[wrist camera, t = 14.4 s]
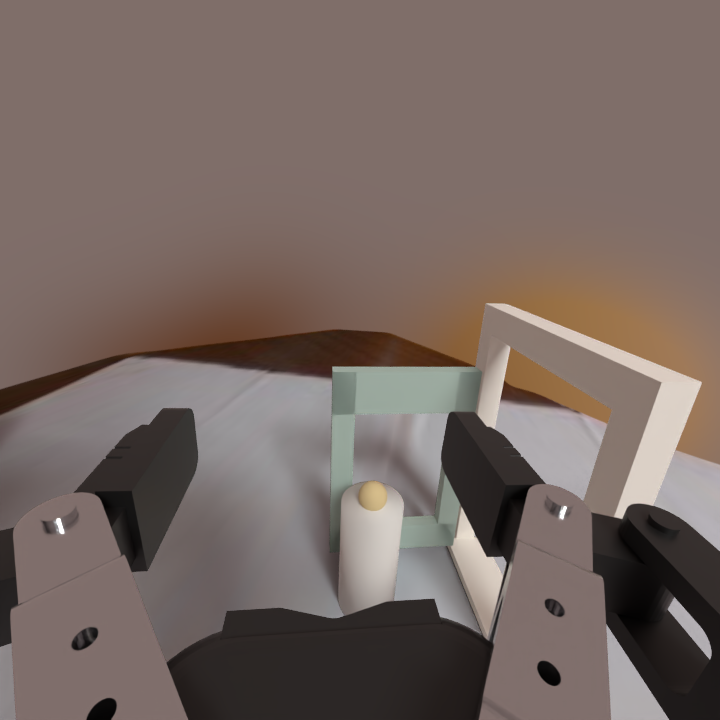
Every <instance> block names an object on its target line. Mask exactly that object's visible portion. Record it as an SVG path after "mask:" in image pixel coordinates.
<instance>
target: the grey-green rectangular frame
mask: <svg viewBox="0 0 720 720" xmlns="http://www.w3.org/2000/svg"><path fill="white" fill-rule="evenodd" d="M481 377H482V371H481V370H479V369H478V368H477V367H333V368H332V426H331V484H330V542H329V543H330V552H340V525H341V499H342V496H343V494H344V492H345V491H346V490H347V489H348V488H349V487H351V486H352V477H353V453H354V429H355V414H425V413H450V412H452V411H455V412H476V406H477V400H478V394H479V388H480V383H481ZM459 506H460V503H459V501H458V499H457V497H456V495H455V493H454V491H453V489H452V487H451V485H450V483H449V481H448V479H447V477H446V475H445V473H444V470H443V467H442V465H441V472H440V479H439V486H438V493H437V500H436V507H435V514H434V516H413V517H403V519H402V529H401V538H400V547H399V549H401V548H419V547H436V546H453V542H454V536H455V530H456V524H457V518H458V512H459Z"/></svg>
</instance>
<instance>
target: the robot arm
mask: <svg viewBox="0 0 720 720" xmlns="http://www.w3.org/2000/svg"><path fill="white" fill-rule="evenodd" d="M441 461H442V467H443V470H444V473H445V475H446V477H447V479H448V481H449V483H450V485H451V487H452V489H453V491H454V493H455V495H456V497H457V499H458V501H459V503H460V505H461V507H462V509H463V511H464V513H465V515H466V517H467V519H468V521H469V523H470V525H471V527H472V529H473V531H474V533H475V535H476V537H477V539H478V541H479V543H480V545H481V547H482V549H483V551H484V553H485V555H486V557H501V556H503V557H504V558H505V560H506V562H507V563H506V567H505V570H504V574H503V578H502V582H501V586H500V590H499V594H498V598H497V602H496V606H495V610H494V614H493V618H492V622H491V626H490V630H489V634H488V638H487V639H486V638H485V637H483V636H482V635H480V634H479V633H477V632H475V631H474V630H472V629H470V628H468V627H466V626H464V625H462V624H460V623H458V622H455V621H452V620H449V619H446V618H441V617H440V616H439V613H438V609H437V606H436V603H435V600H434V599H422V600H405V601H388V602H384V603H381V604H378V605H375V606H372V607H369V608H366V609H363V610H360V611H357V612H355V613H352V614H349V615H346V616H343V617H340V618H326V617H322V616H317V615H312V614H307V613H303V612H298V611H293V610H288V609H283V608H271V609H254V610H237V611H227V613H226V617H225V621H224V625H223V630H222V631H221V632H218V633H215V634H212V635H210V636H208V637H206V638H204V639H202V640H199V641H198V642H196V643H194V644H193V645H191V646H189V647H187V648H186V649H184V650H183V651H181V652H180V653H179V654H177V655H176V656H174V657H173V658H172V659H170V660H169V661H168V662H167V663H166V661H165V658H164V656H163V653H162V650H161V648H160V645H159V643H158V640H157V637H156V635H155V632H154V629H153V627H152V624H151V622H150V619H149V616H148V614H147V611H146V609H145V606H144V603H143V601H142V598H141V596H140V593H139V590H138V588H137V585H136V582H135V580H134V577H133V575H132V572H137V571H148V569H149V567H150V565H151V563H152V561H153V559H154V557H155V554H156V552H157V550H158V548H159V546H160V544H161V542H162V540H163V538H164V536H165V534H166V532H167V530H168V528H169V526H170V523H171V521H172V519H173V517H174V515H175V513H176V511H177V509H178V507H179V505H180V503H181V501H182V499H183V497H184V495H185V493H186V490H187V488H188V486H189V484H190V482H191V480H192V478H193V476H194V474H195V471H196V467H197V462H198V449H197V440H196V431H195V421H194V414H193V411H192V409H190V408H163V409H162V410H161V411H160V412H159V413H158V415H157V416H156V417H155V418H154V419H153V421H152V422H151V423H150V424H149V425H141V426H139V427H138V428H136V429H134V430H133V431H131V432H129V433H128V434H126V435H125V436H124V437H123V438H122V439H121V440H120V441H119V443H118V444H117V445H116V446H115V449H112V450H111V452H110V453H109V454H108V455H107V456H106V459H103V460H102V462H101V463H100V464H99V465H98V466H97V467H96V468H95V469H94V471H93V472H92V473H91V474H90V475H89V476H88V477H87V478H86V480H85V481H84V482H83V483H82V484H81V485H80V486H79V487H78V489H77V490H76V491H75V492H74V493H70V494H66V495H62V496H59V497H55V498H53V499H50V500H48V501H46V502H44V503H42V504H40V505H38V506H36V507H35V508H33V509H32V510H30V511H29V512H28V513H26V514H25V515H24V516H23V517H22V518H21V519H20V520H19V521H18V523H17V524H16V526H15V527H14V528H11V529H6V530H2V531H0V647H1V646H4V645H7V644H10V643H12V657H13V676H14V694H15V712H16V720H611V711H610V691H609V672H608V652H607V633H606V624H607V626H608V627H609V629H610V630H611V632H612V633H613V635H614V636H615V638H616V639H617V641H618V642H619V644H620V645H621V647H622V648H623V650H624V651H625V653H626V654H627V656H628V657H629V659H630V661H631V662H632V664H633V665H634V667H635V668H636V670H637V671H638V673H639V674H640V676H641V677H642V679H643V680H644V682H645V683H646V685H647V686H648V688H649V689H650V691H651V692H652V694H653V696H654V697H655V699H656V700H657V702H658V703H659V705H660V706H661V708H662V709H663V711H664V712H665V714H666V715H667V717H668V718H669V720H720V551H719V550H717V549H716V548H715V547H714V546H713V545H712V544H711V543H709V542H708V541H707V540H706V539H705V538H704V537H703V536H701V535H700V534H699V533H698V532H697V531H696V530H695V529H693V528H692V527H691V526H690V525H689V524H687V523H686V522H685V521H683V520H682V519H680V518H679V517H677V516H675V515H674V514H672V513H670V512H668V511H666V510H663V509H661V508H658V507H655V506H652V505H647V504H640V503H638V504H631V505H629V506H628V507H627V509H626V511H625V513H624V516H623V518H622V519H620V518H616V517H611V516H606V515H602V514H597V513H592V512H591V511H590V509H589V508H588V506H587V505H586V504H585V503H584V502H583V501H582V500H581V499H580V498H579V497H577V496H576V495H574V494H573V493H571V492H569V491H567V490H565V489H563V488H560V487H557V486H554V485H549V484H545V482H544V481H543V480H542V479H541V478H540V477H539V475H538V474H537V473H536V472H535V471H534V470H533V468H532V467H531V466H530V465H529V464H528V463H527V461H526V460H525V459H524V458H523V457H521V454H520V453H519V452H518V451H517V450H516V449H515V448H513V445H512V444H511V443H510V442H509V441H508V439H507V438H506V437H505V436H504V435H503V434H501V433H499V432H498V431H496V430H495V429H493V428H492V427H487V426H486V425H485V424H484V422H483V421H482V420H481V419H480V417H479V416H478V415H477V414H476V413H475V412H455V411H452V412H450V413H449V415H448V419H447V424H446V430H445V435H444V441H443V446H442V452H441ZM674 597H675V598H676V599H677V600H678V601H679V603H680V604H681V605H682V606H683V607H684V608H685V609H686V610H687V612H688V613H689V614H690V615H691V616H692V617H693V618H694V620H695V621H696V622H697V623H698V624H699V625H700V626H701V628H702V629H703V630H704V632H705V633H706V635H707V637H708V639H709V642H710V645H711V650H712V656H711V659H710V660H709V658H708V657H707V656H706V655H705V654H704V652H703V651H702V650H701V649H700V648H699V647H698V645H697V644H696V643H695V642H694V641H693V639H692V638H691V637H690V636H689V635H688V633H687V632H686V631H685V630H684V629H683V627H682V626H681V625H680V624H679V623H678V621H677V620H676V619H675V618H674V617H673V616H672V614H671V613H670V612H669V611H668V610H667V609H668V607H669V606H670V604H671V602H672V600H673V598H674Z"/></svg>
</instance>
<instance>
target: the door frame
mask: <svg viewBox="0 0 720 720" xmlns="http://www.w3.org/2000/svg"><path fill="white" fill-rule="evenodd" d="M510 347H512V348H513V349H515V350H516V351H518V352H520V353H521V354H523V355H525V356H526V357H528V358H529V359H531V360H533V361H534V362H536V363H537V364H539V365H541V366H542V367H544V368H546V369H547V370H549V371H550V372H552V373H554V374H555V375H557V376H558V377H560V378H562V379H563V380H565V381H567V382H568V383H570V384H572V385H573V386H575V387H576V388H578V389H580V390H581V391H583V392H584V393H586V394H588V395H589V396H591V397H593V398H594V399H596V400H597V401H599V402H601V403H602V404H604V405H606V406H607V407H609V408H610V409H612V412H611V415H610V418H609V421H608V424H607V428H606V431H605V434H604V437H603V440H602V444H601V447H600V450H599V453H598V456H597V460H596V463H595V466H594V469H593V472H592V475H591V479H590V482H589V485H588V488H587V491H586V495H585V498H584V501H583V502H584V503H585V504H586V505H587V506H588V508H589V509H590V511H591V512H592V513H597V514H602V515H606V516H611V517H616V518H620V519H622V518H623V516H624V513H625V511H626V509H627V507H628V506H629V505H631V504H638V503H640V504H647V505H652V506H653V504H654V502H655V499H656V497H657V494H658V492H659V489H660V487H661V484H662V482H663V479H664V477H665V474H666V472H667V469H668V467H669V464H670V462H671V459H672V457H673V454H674V452H675V449H676V446H677V444H678V441H679V439H680V436H681V434H682V431H683V429H684V426H685V424H686V421H687V419H688V416H689V413H690V411H691V409H692V406H693V404H694V401H695V399H696V396H697V394H698V391H699V389H700V386H701V383H702V382H700V381H698V380H695V379H692V378H690V377H688V376H685V375H682V374H680V373H677V372H675V371H672V370H670V369H668V368H665V367H663V366H660V365H658V364H655V363H653V362H650V361H648V360H645V359H643V358H640V357H638V356H635V355H633V354H630V353H628V352H625V351H623V350H620V349H618V348H615V347H613V346H610V345H608V344H605V343H603V342H600V341H598V340H595V339H593V338H590V337H588V336H585V335H583V334H580V333H577V332H575V331H573V330H570V329H568V328H565V327H563V326H560V325H558V324H555V323H553V322H550V321H547V320H545V319H543V318H540V317H538V316H535V315H533V314H530V313H528V312H525V311H523V310H520V309H518V308H515V307H513V306H510V305H508V304H488V303H487V304H486V305H485V311H484V317H483V323H482V330H481V336H480V342H479V349H478V355H477V361H476V367H477V368H478V369H479V370H481V371H482V377H481V383H480V388H479V394H478V400H477V406H476V412H475V413H476V414H477V415H478V416H479V417H480V419H481V420H482V421H483V422H484V424H485V425H486V426H487V427H492V428H493V429H495V424H496V419H497V414H498V408H499V403H500V398H501V393H502V388H503V382H504V376H505V372H506V367H507V362H508V356H509V351H510ZM447 547H448V549H449V552H450V554H451V557H452V559H453V562H454V564H455V567H456V569H457V572H458V574H459V577H460V579H461V582H462V584H463V587H464V589H465V592H466V594H467V596H468V599H469V601H470V604H471V606H472V609H473V611H474V614H475V616H476V619H477V621H478V624H479V626H480V629H481V631H482V634H483V636H484V637H485V638H486V639H487V638H488V634H489V630H490V626H491V622H492V618H493V614H494V610H495V606H496V602H497V598H498V594H499V590H500V586H501V582H502V578H503V575H502V573H501V571H500V569H499V568H498V566H497V564H496V562H495V560H494V558H493V557H486V555H485V553H484V551H483V549H482V547H481V545H480V543H479V541H478V539H477V537H474V531H473V529H472V527H471V525H470V523H469V521H468V519H467V517H466V515H465V513H464V511H463V509H462V507H461V505H460V506H459V512H458V518H457V524H456V530H455V536H454V542H453V546H447Z"/></svg>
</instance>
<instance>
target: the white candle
mask: <svg viewBox="0 0 720 720" xmlns="http://www.w3.org/2000/svg"><path fill="white" fill-rule="evenodd" d="M403 510H404V502H403V499H402V497H401V495H400V494H399V493H398V492H397V491H396V490H395V489H394V488H392V487H390V486H389V485H386V484H384V483H380V482H377V481H367V482H360V483H357V484H354V485H352V486H351V487H349V488H348V489H347V490H346V491H345V492H344V494H343V496H342V499H341V525H340V556H339V587H338V602H339V606H340V608H341V610H342V612H343V613H344V615H345V616H346V615H349V614H352V613H355V612H357V611H360V610H363V609H366V608H369V607H372V606H375V605H378V604H381V603H384V602H388V601H394V595H395V585H396V576H397V566H398V557H399V547H400V538H401V529H402V519H403Z"/></svg>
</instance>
